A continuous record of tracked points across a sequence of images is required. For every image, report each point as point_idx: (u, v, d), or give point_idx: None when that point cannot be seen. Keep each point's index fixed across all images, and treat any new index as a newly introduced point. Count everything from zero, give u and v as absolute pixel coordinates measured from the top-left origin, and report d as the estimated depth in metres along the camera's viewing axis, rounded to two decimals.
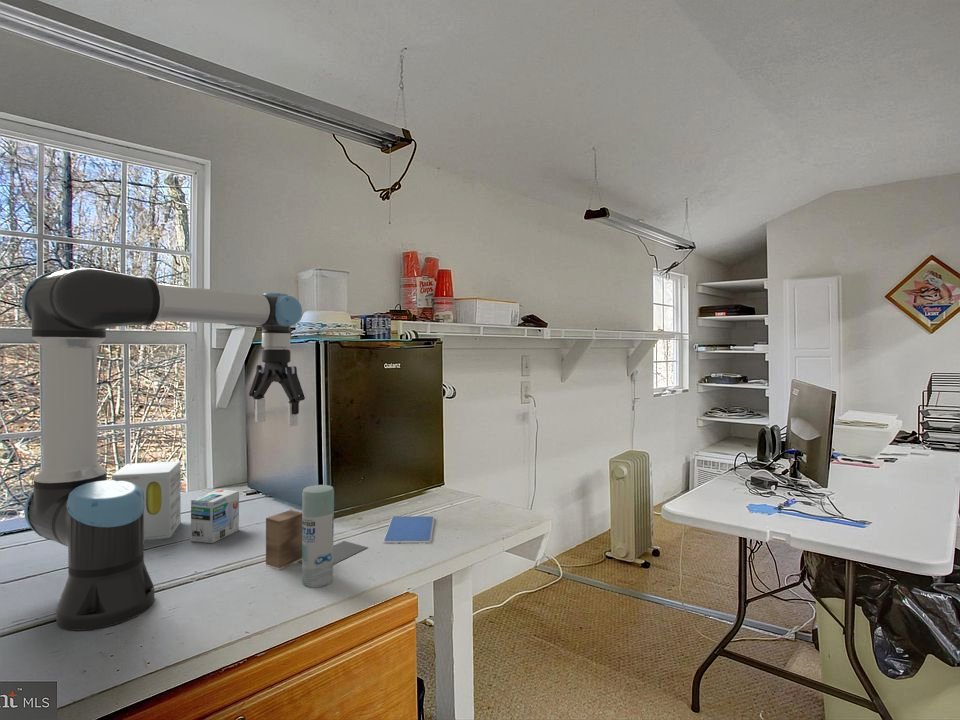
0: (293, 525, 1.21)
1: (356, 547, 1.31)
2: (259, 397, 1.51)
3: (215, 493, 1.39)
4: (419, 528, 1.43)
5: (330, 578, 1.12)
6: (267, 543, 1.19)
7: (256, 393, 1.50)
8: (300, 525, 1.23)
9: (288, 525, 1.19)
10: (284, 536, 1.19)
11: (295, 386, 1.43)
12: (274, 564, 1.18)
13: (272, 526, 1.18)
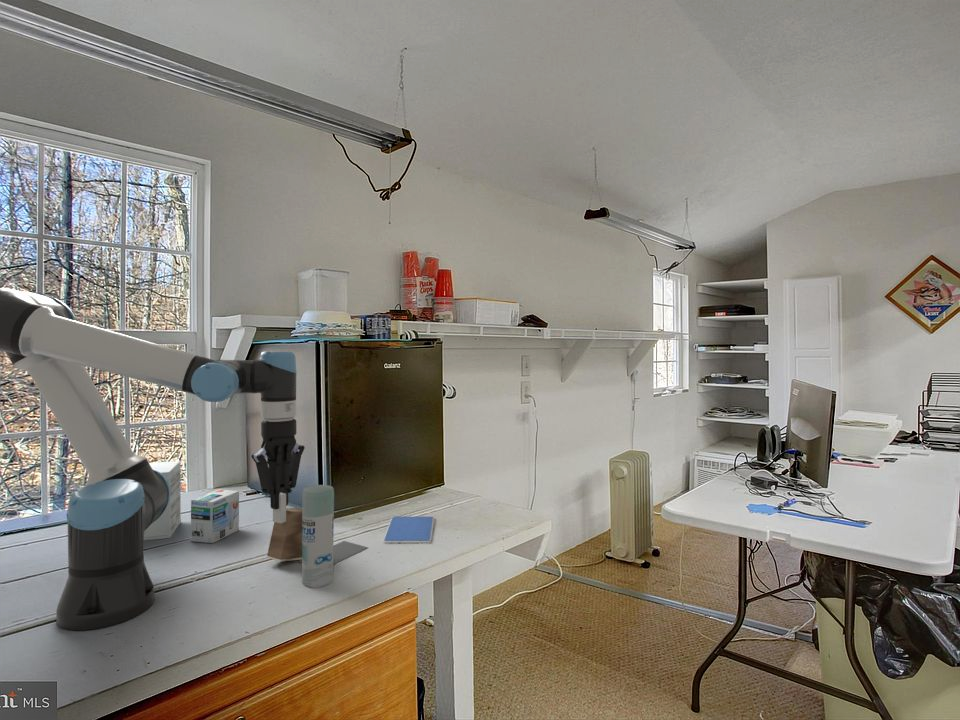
0: (301, 520, 1.23)
1: (356, 547, 1.31)
2: (281, 488, 1.20)
3: (215, 493, 1.39)
4: (418, 528, 1.43)
5: (330, 578, 1.12)
6: (273, 534, 1.21)
7: None
8: None
9: (297, 518, 1.22)
10: (291, 528, 1.20)
11: (260, 478, 1.16)
12: (276, 555, 1.19)
13: None
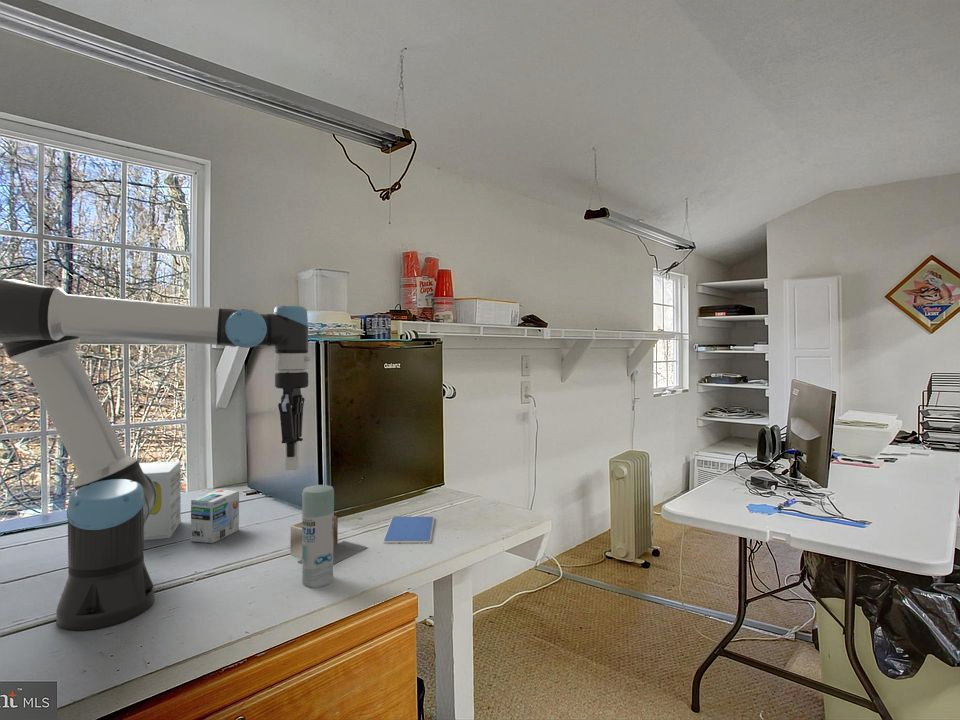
0: None
1: (356, 547, 1.31)
2: None
3: (215, 493, 1.39)
4: (419, 528, 1.43)
5: (330, 578, 1.12)
6: None
7: None
8: None
9: None
10: None
11: (283, 427, 1.20)
12: None
13: None
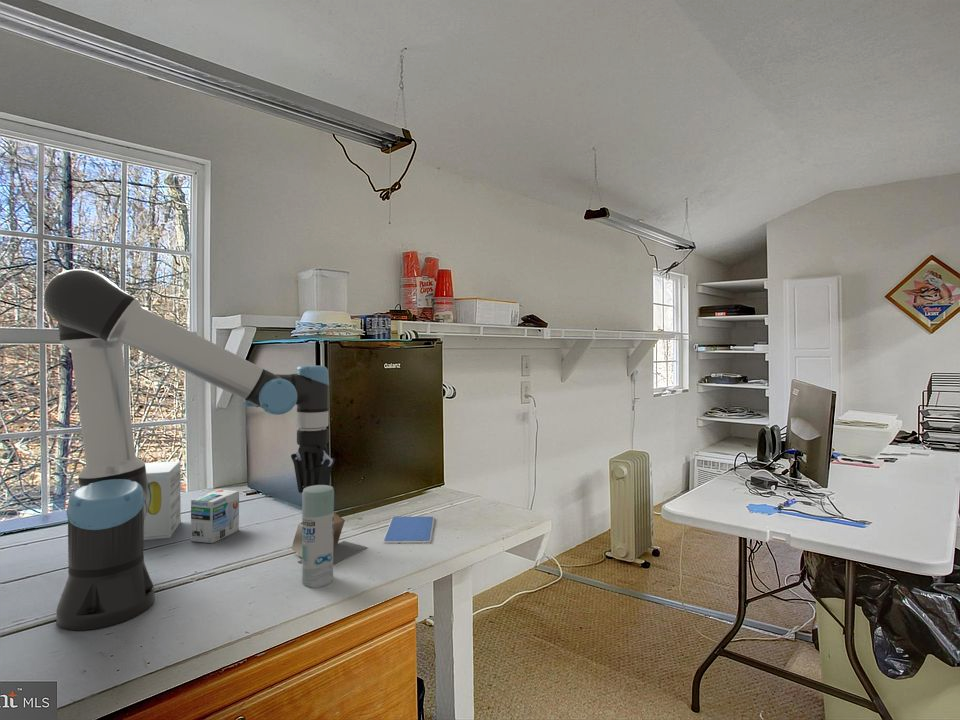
0: (334, 536, 1.31)
1: (356, 547, 1.31)
2: None
3: (215, 493, 1.39)
4: (419, 528, 1.43)
5: (330, 578, 1.12)
6: None
7: None
8: None
9: (337, 530, 1.31)
10: None
11: (323, 482, 1.27)
12: None
13: (334, 517, 1.31)
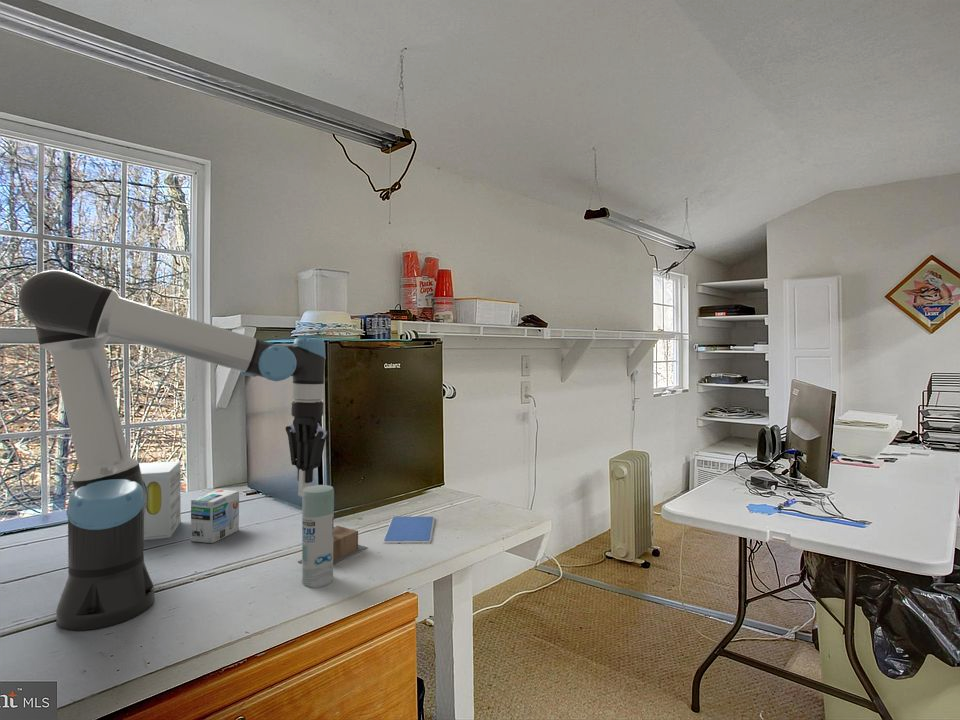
0: None
1: None
2: (303, 465, 1.30)
3: (215, 493, 1.39)
4: (419, 528, 1.43)
5: (330, 578, 1.12)
6: (341, 540, 1.25)
7: (298, 460, 1.30)
8: None
9: None
10: None
11: (316, 454, 1.27)
12: None
13: (353, 541, 1.28)
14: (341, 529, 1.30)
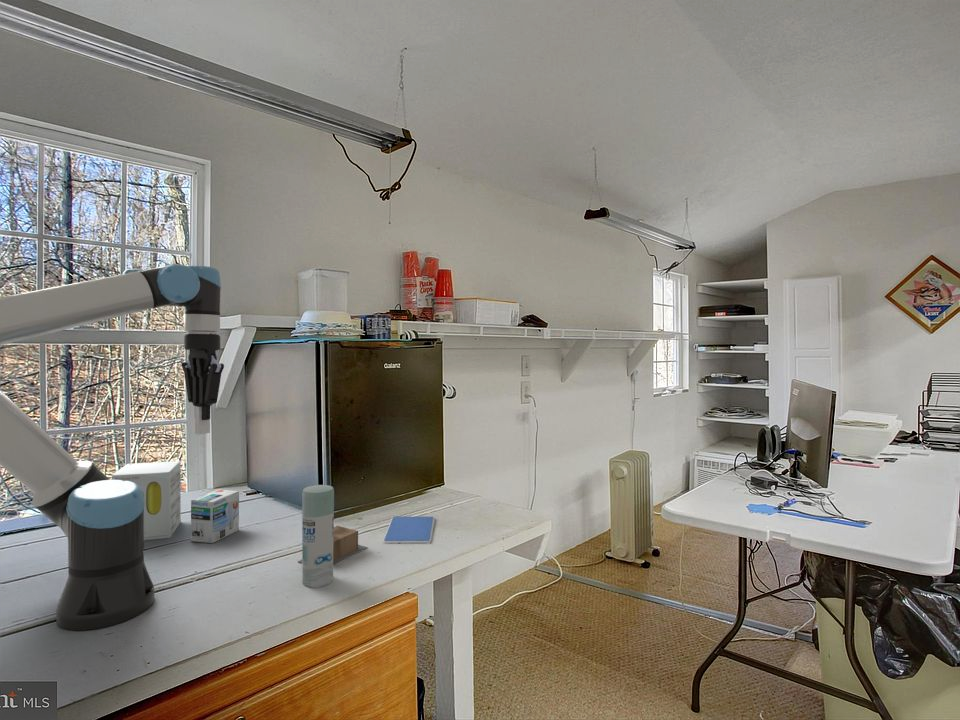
0: None
1: None
2: None
3: (215, 493, 1.39)
4: (419, 528, 1.43)
5: (330, 578, 1.12)
6: (341, 540, 1.25)
7: (194, 397, 1.22)
8: None
9: None
10: None
11: (211, 388, 1.20)
12: None
13: (353, 541, 1.28)
14: (341, 529, 1.30)
